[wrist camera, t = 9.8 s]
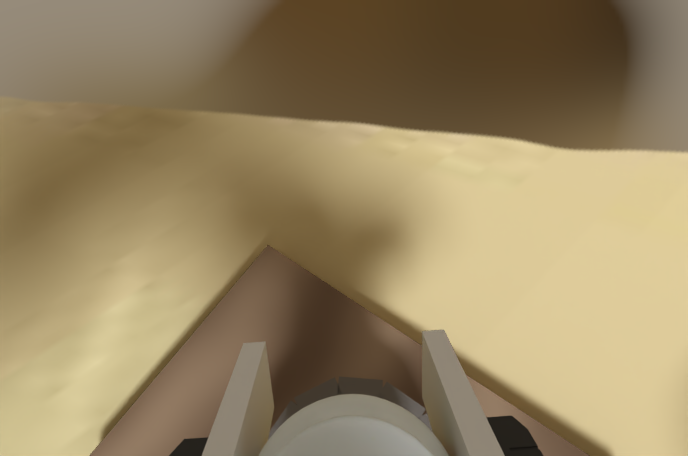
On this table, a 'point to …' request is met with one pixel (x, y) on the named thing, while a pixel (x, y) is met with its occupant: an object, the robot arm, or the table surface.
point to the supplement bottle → (353, 430)
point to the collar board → (288, 363)
